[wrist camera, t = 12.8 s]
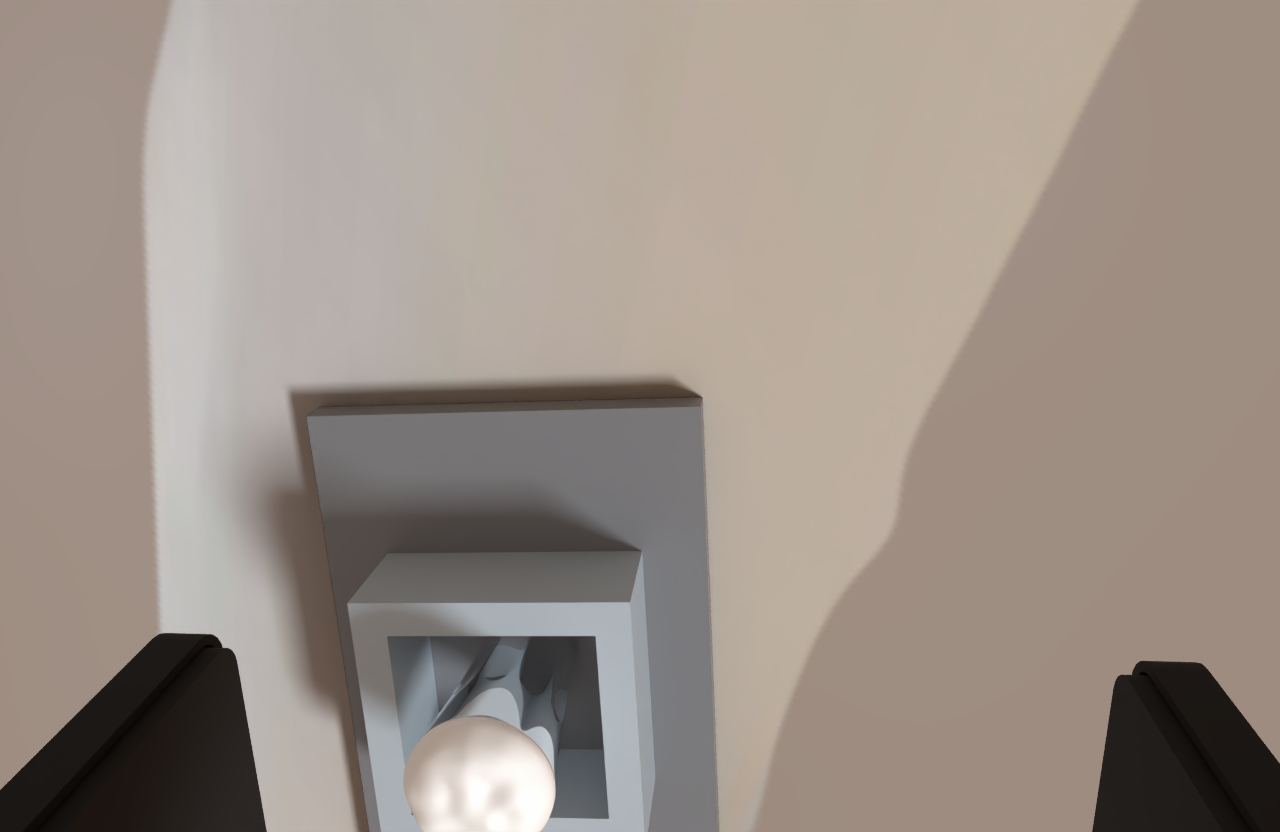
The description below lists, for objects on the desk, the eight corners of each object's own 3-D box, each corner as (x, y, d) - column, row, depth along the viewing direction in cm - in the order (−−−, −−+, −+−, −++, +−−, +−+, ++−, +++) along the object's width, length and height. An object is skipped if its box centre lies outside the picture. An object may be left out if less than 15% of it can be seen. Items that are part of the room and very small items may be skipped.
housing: (319, 406, 38) (255, 452, 33) (702, 397, 36) (695, 443, 31) (387, 864, 43) (340, 961, 38) (720, 871, 42) (717, 974, 37)
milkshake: (511, 736, 40) (437, 936, 30) (453, 618, 38) (356, 787, 29) (620, 703, 39) (579, 897, 29) (563, 580, 37) (501, 741, 28)
